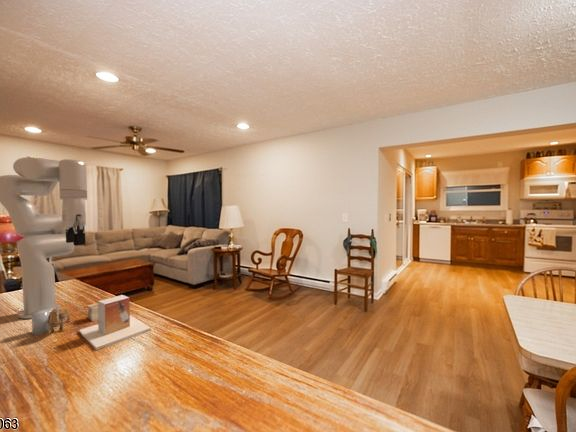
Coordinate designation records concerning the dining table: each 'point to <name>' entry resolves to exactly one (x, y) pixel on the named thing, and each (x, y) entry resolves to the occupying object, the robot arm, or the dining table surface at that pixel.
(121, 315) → the small box
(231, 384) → the dining table surface
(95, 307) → the birch block
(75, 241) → the robot arm
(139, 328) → the mat
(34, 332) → the light grey domed piece
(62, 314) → the lion figurine
